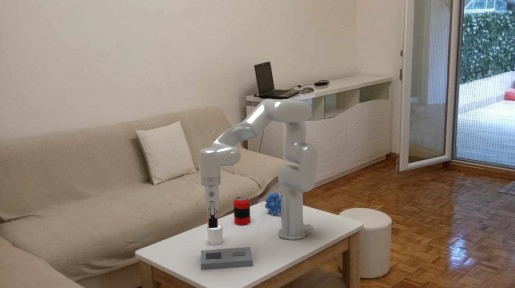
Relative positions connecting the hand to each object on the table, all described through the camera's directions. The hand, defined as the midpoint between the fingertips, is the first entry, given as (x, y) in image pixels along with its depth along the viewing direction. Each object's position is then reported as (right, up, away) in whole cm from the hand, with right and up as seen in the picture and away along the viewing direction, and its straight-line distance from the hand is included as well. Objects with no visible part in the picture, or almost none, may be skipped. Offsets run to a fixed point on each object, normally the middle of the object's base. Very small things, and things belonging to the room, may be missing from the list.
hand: (213, 224), depth 194 cm
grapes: (+26, -3, +51) cm, 58 cm away
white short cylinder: (-1, -11, +22) cm, 25 cm away
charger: (0, 0, 0) cm, 0 cm away
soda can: (+10, -6, +43) cm, 44 cm away
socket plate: (+5, -15, +4) cm, 16 cm away
